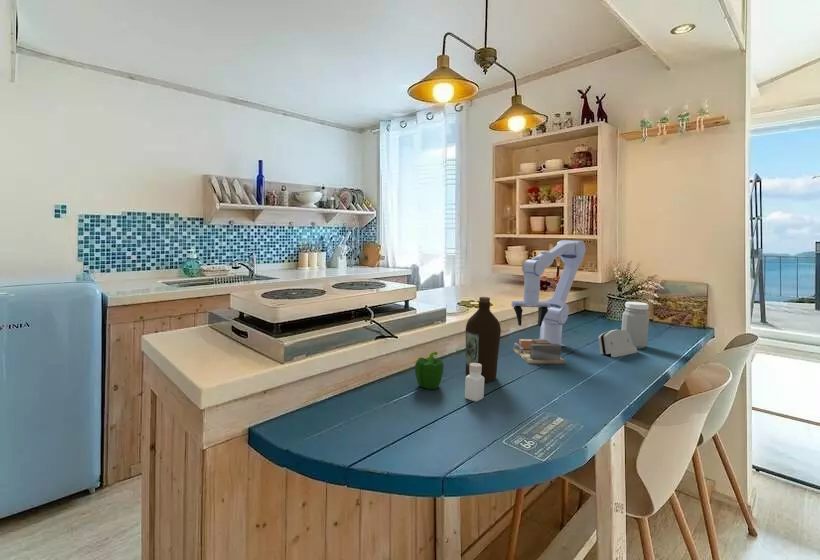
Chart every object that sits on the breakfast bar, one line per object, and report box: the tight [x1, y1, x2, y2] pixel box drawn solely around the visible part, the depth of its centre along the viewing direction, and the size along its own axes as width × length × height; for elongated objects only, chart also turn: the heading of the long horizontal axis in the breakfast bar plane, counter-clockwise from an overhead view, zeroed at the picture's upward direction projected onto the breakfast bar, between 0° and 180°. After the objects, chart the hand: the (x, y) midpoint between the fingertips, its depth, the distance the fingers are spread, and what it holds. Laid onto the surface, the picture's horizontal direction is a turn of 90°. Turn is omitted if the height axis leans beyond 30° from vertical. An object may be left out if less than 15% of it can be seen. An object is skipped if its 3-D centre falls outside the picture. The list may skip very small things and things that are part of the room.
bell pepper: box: [414, 351, 444, 390], centre depth 121 cm, size 8×8×10 cm
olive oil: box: [465, 296, 502, 383], centre depth 130 cm, size 11×11×25 cm
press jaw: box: [518, 338, 533, 349], centre depth 160 cm, size 2×10×3 cm, turn 95°
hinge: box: [597, 329, 638, 358], centre depth 164 cm, size 17×5×10 cm, turn 121°
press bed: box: [512, 342, 566, 364], centre depth 155 cm, size 16×13×6 cm
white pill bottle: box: [464, 363, 485, 402], centre depth 113 cm, size 4×4×10 cm
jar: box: [620, 301, 650, 350], centre depth 174 cm, size 10×10×18 cm
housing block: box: [531, 338, 551, 344], centre depth 152 cm, size 5×5×5 cm
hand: (529, 325), depth 164 cm, fingers open, 7 cm apart
